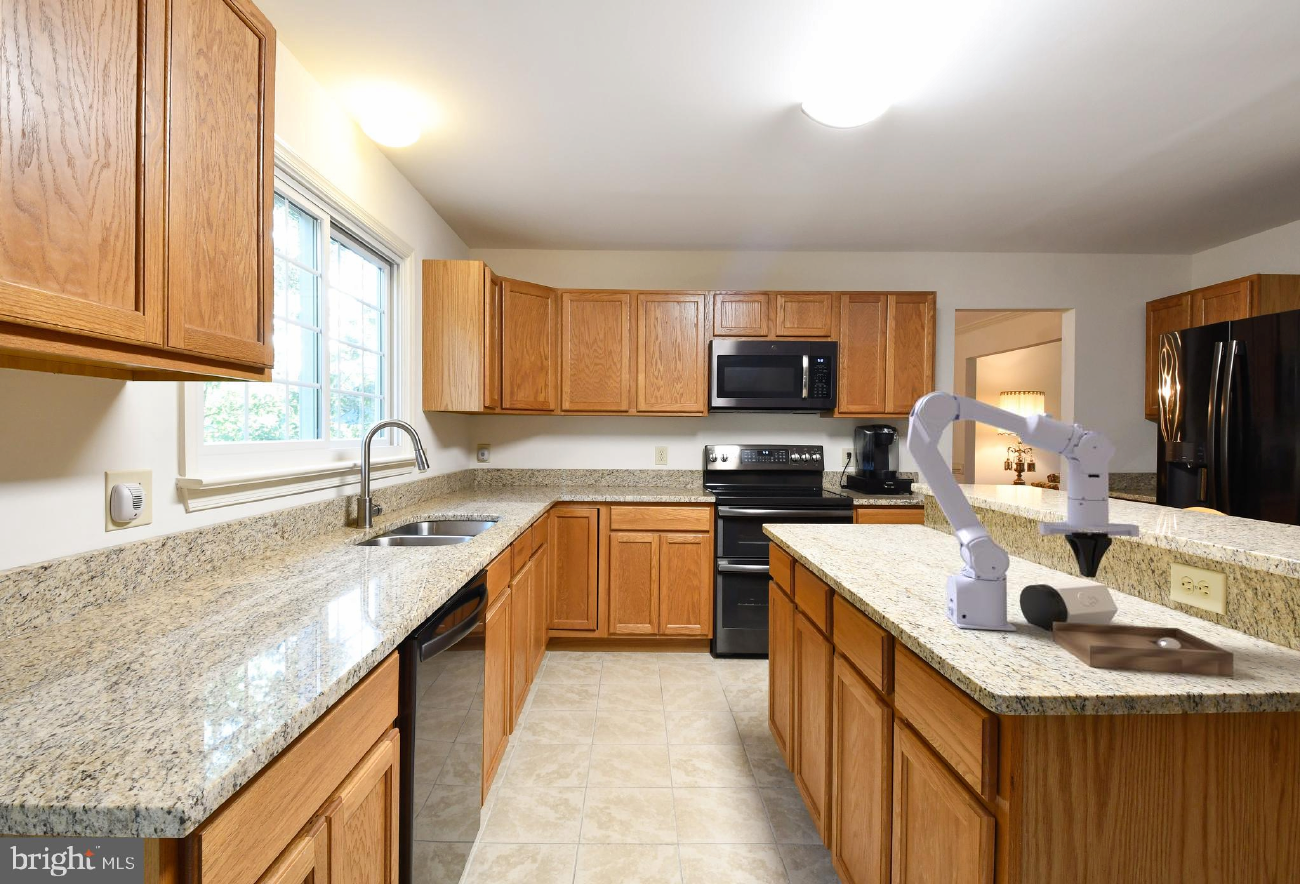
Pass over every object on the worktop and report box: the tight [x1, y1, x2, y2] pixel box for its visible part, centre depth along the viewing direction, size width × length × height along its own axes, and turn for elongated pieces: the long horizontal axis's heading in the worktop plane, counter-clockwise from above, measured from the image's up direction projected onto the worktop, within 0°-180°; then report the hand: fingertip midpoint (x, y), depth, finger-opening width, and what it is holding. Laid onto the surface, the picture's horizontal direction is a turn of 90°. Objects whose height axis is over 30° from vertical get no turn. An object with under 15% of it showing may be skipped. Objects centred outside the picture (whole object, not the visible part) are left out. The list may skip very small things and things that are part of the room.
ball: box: [1156, 638, 1183, 649], centre depth 86 cm, size 3×3×3 cm
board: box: [1052, 622, 1234, 677], centre depth 87 cm, size 18×11×3 cm, turn 78°
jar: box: [1019, 577, 1119, 631], centre depth 102 cm, size 9×8×12 cm
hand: (1088, 576), depth 98 cm, fingers closed
